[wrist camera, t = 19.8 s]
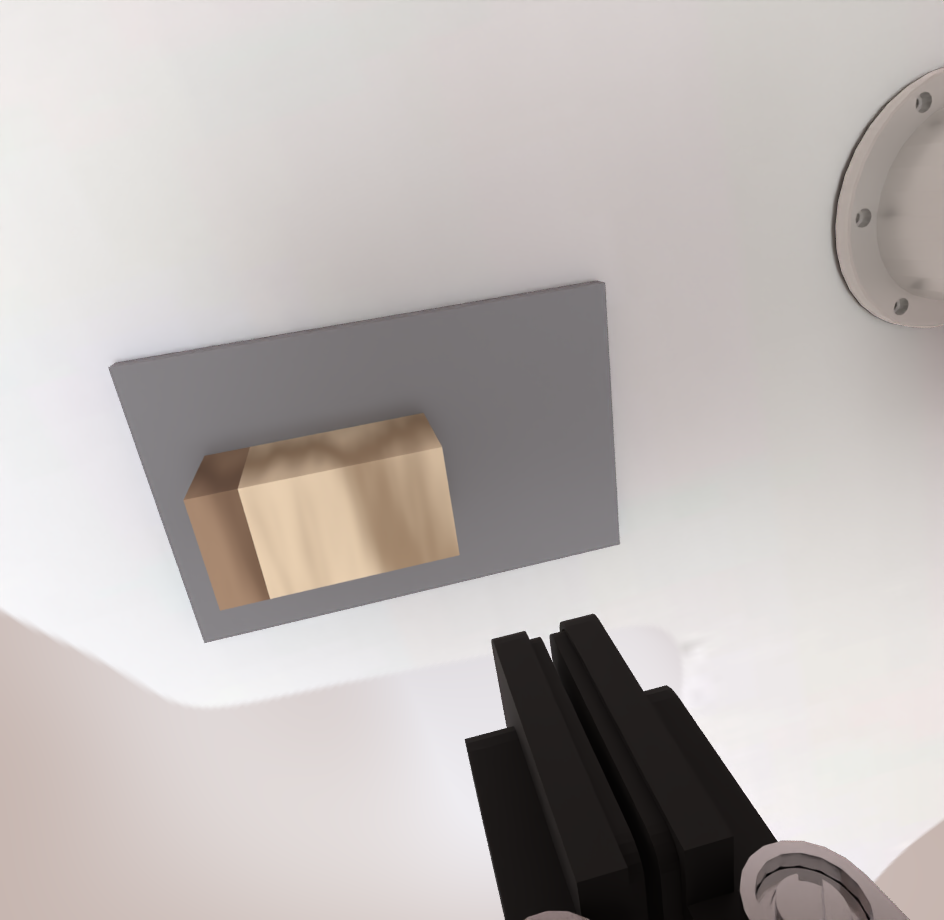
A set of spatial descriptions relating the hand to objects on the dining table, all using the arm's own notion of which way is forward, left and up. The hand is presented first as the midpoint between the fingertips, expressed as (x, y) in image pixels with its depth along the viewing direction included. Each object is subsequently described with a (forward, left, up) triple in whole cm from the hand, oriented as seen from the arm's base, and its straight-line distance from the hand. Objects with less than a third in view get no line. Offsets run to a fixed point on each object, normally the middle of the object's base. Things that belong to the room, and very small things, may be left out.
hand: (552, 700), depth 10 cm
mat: (+1, +4, -23) cm, 23 cm away
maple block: (-1, +4, -19) cm, 19 cm away
